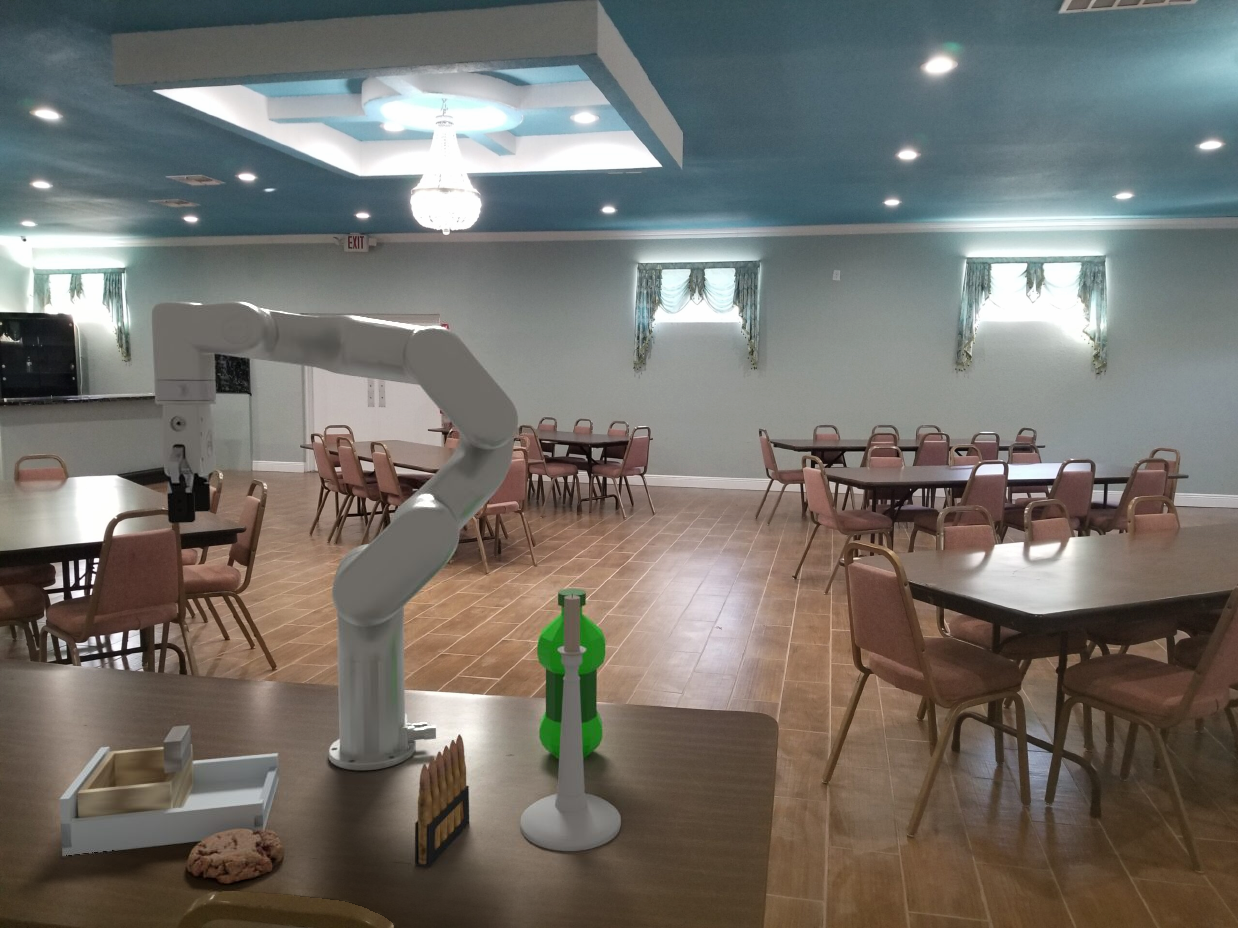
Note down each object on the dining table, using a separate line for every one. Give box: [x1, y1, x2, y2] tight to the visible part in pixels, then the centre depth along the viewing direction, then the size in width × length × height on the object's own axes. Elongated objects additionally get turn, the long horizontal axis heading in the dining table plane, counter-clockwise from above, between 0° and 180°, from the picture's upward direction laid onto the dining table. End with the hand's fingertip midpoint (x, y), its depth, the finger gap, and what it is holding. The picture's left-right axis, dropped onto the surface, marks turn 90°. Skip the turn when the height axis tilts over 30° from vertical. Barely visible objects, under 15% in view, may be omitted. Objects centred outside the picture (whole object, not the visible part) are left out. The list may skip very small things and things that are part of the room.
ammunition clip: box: [414, 734, 470, 869], centre depth 104 cm, size 11×2×12 cm, turn 164°
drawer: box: [77, 724, 194, 818], centre depth 109 cm, size 11×12×10 cm
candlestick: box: [519, 594, 622, 852], centre depth 108 cm, size 13×13×30 cm
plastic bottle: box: [536, 588, 606, 760], centre depth 129 cm, size 10×10×25 cm
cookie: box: [186, 829, 285, 884], centre depth 100 cm, size 10×11×3 cm
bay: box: [58, 746, 280, 857], centre depth 110 cm, size 22×15×7 cm, turn 104°
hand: (190, 516), depth 120 cm, fingers open, 9 cm apart
